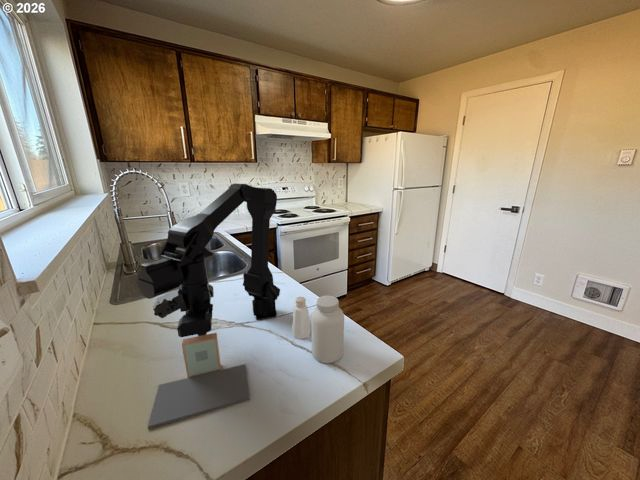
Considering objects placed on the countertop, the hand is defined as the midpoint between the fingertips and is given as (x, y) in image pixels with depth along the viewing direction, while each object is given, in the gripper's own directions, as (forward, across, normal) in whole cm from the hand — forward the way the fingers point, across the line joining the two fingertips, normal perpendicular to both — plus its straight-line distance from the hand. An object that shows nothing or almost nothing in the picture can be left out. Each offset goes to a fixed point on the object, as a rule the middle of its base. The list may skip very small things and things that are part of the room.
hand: (202, 338), depth 65 cm
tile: (+6, +5, 0) cm, 8 cm away
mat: (+6, +11, 0) cm, 13 cm away
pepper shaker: (+6, -1, +25) cm, 26 cm away
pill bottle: (+6, +9, +29) cm, 31 cm away
